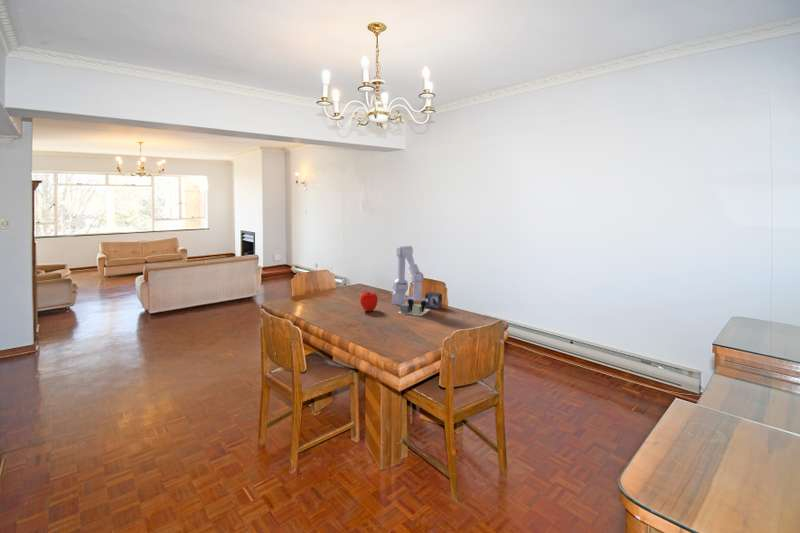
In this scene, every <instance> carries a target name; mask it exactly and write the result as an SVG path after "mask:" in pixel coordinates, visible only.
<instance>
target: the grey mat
mask: <svg viewBox="0 0 800 533" xmlns="http://www.w3.org/2000/svg"><path fill="white" fill-rule="evenodd" d="M430 310H431V308H424V312H422V313H421V314H412V311H410V312H409V313H403V314H405V315H412V316H422V317H423V315H425V314H427V313H428V312H429V311H430ZM398 314H402V313H401V310H400V311H398Z"/></svg>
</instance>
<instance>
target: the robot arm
mask: <svg viewBox="0 0 800 533" xmlns="http://www.w3.org/2000/svg"><path fill="white" fill-rule="evenodd" d="M413 253H414V248H413V247H412V245H404V246H403V245H402V246H400V245H399V246H397V248H396V257H397V258H398V260H397V279H395V280H394V281H393V285H392V289H393V292H392V294H391V305H396V306H401V305H402V304H406V303H408V304H409V306H410V309H411V311H412V306H413V302H420V305H421V306H422V310H421V311H422V312H424V309H426V307H425V305H426V303H427V302H428V299H427V298H425V297H422V296H423V295H422V293H423V285H422V284H423V281H424V274H423V273H422V271H420V269H419V266H418V265H417V264H416V263H415V260H414V257H413ZM406 261H407V263H408V265H409V266H408V269H409V271H410V275H411V283H412V296H406V294H407V291H408V290H409V285H408V280H406V279H405V278H406V276H405V275H406ZM406 300H407V301H406Z"/></svg>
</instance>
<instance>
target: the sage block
mask: <svg viewBox="0 0 800 533" xmlns="http://www.w3.org/2000/svg"><path fill="white" fill-rule="evenodd" d="M421 310H422V306H421V304H418V305H416V304H415V305H413V306H412V314H421V313H422V311H421ZM412 314H411V315H412Z"/></svg>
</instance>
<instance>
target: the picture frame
mask: <svg viewBox="0 0 800 533" xmlns="http://www.w3.org/2000/svg"><path fill="white" fill-rule="evenodd" d="M424 296H425V297H424V298H427V299H428V302H427V303H426V305H425V309H433V310H434V309H435V310H440V309H442V307H443V306H442V305H443V304H442V303H443V301H442V300H443V293H440V292H435V291H434V292H432V291H428V292H426V293H425V295H424Z"/></svg>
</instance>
